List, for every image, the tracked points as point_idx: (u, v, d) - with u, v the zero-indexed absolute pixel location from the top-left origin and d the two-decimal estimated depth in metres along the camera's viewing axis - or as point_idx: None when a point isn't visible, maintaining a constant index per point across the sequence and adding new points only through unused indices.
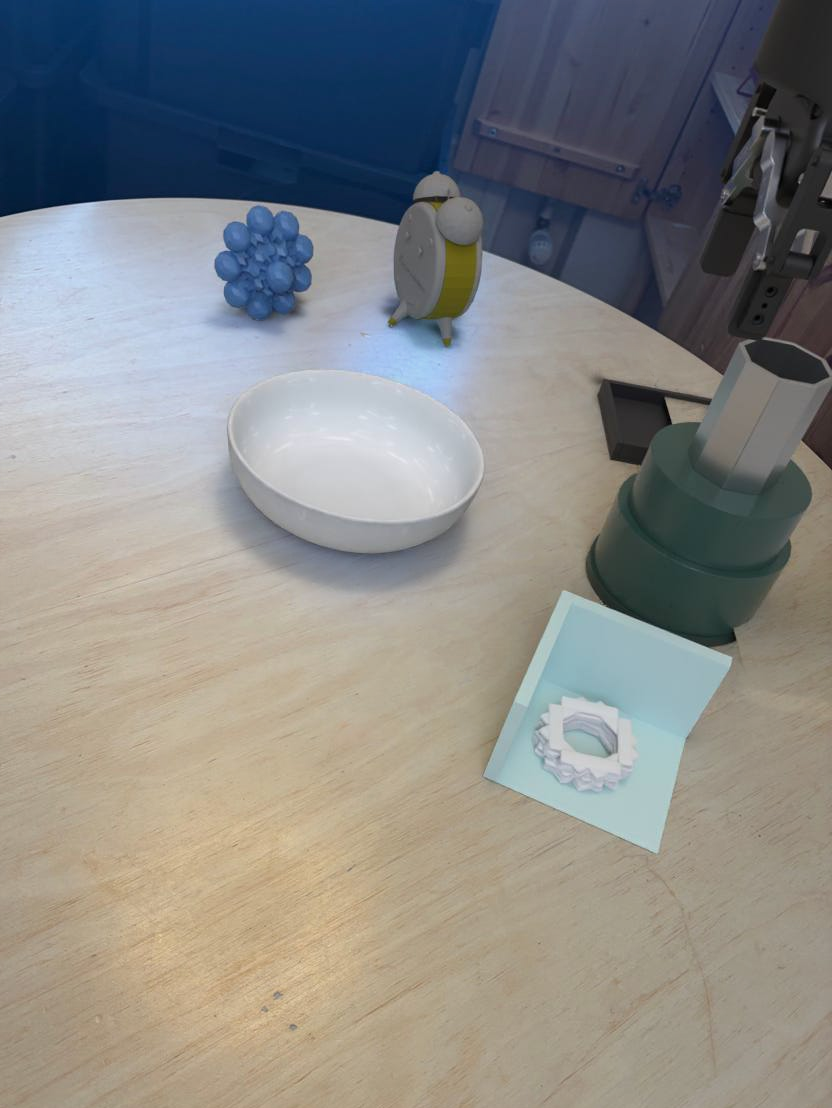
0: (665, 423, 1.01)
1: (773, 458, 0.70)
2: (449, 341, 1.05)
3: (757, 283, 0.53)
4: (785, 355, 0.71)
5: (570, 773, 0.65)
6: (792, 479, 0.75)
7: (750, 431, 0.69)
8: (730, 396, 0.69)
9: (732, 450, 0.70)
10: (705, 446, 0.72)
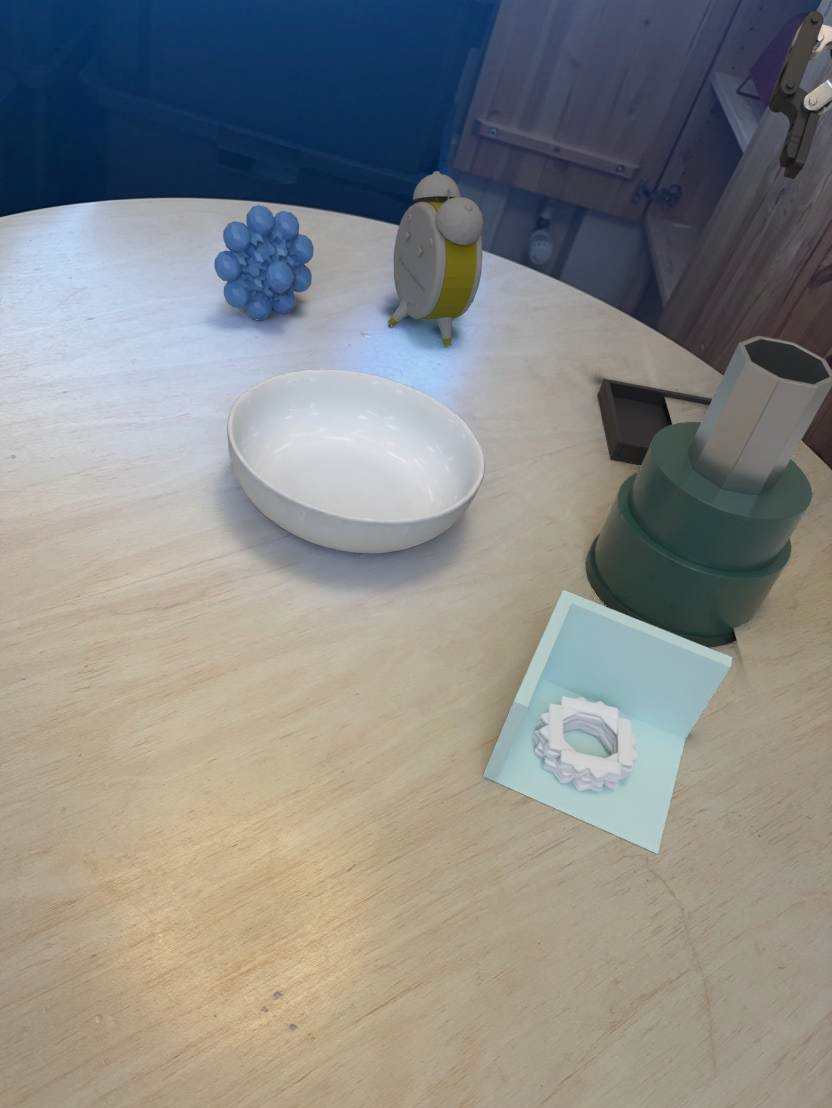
0: (665, 423, 1.01)
1: (773, 458, 0.70)
2: (449, 341, 1.05)
3: None
4: (785, 355, 0.71)
5: (570, 773, 0.65)
6: (792, 479, 0.75)
7: (750, 431, 0.69)
8: (730, 396, 0.69)
9: (732, 450, 0.70)
10: (705, 446, 0.72)
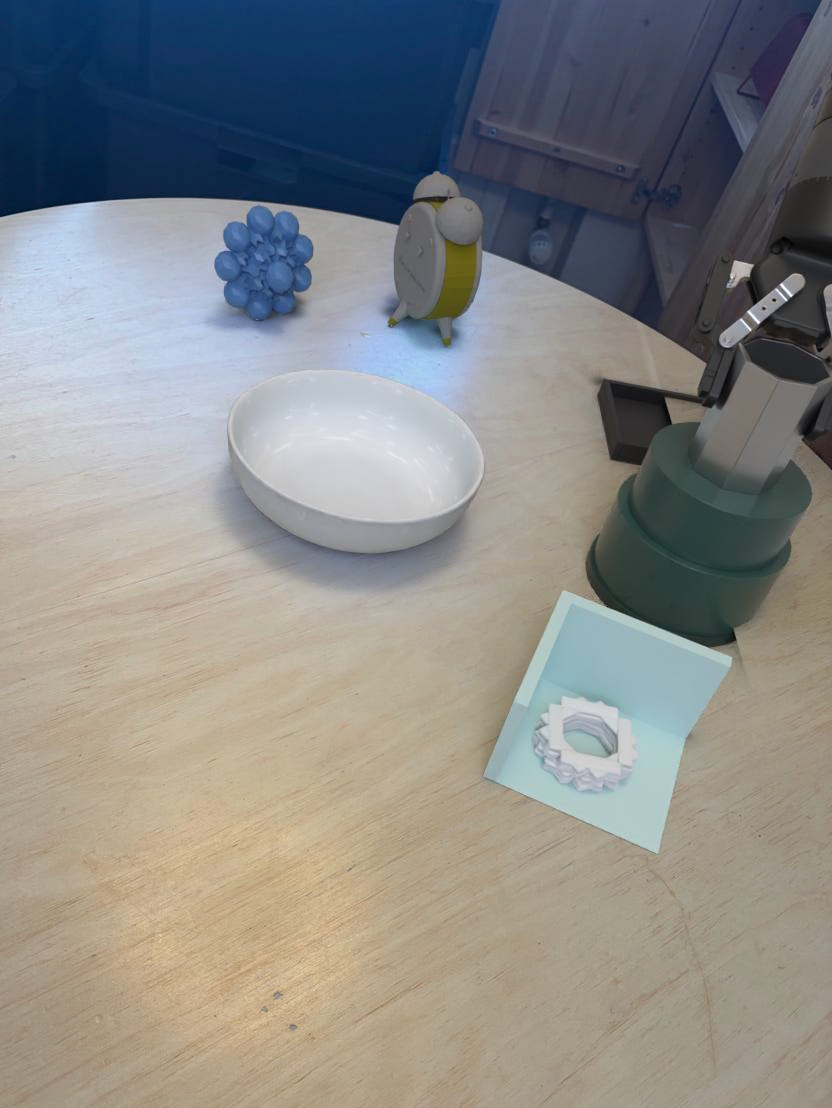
0: (665, 423, 1.01)
1: (773, 458, 0.70)
2: (449, 341, 1.05)
3: None
4: (785, 355, 0.71)
5: (570, 773, 0.65)
6: (792, 479, 0.75)
7: (750, 431, 0.69)
8: (730, 396, 0.69)
9: (732, 449, 0.70)
10: (705, 446, 0.72)
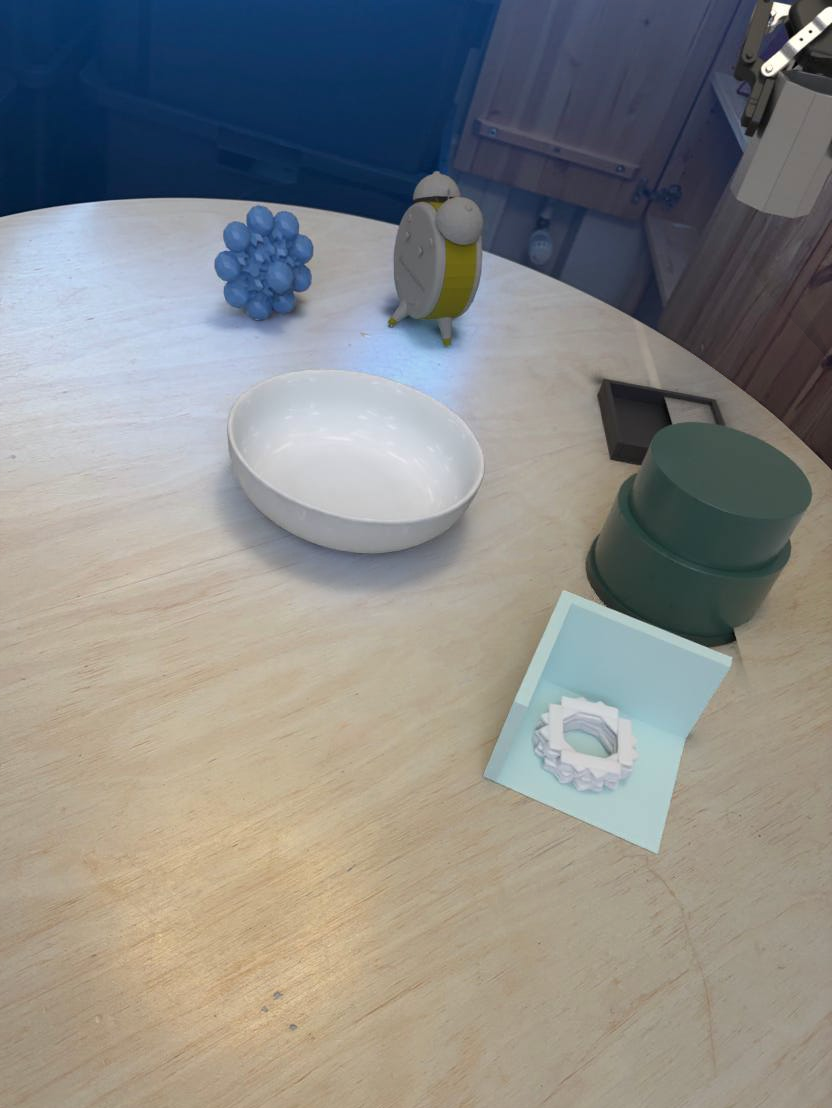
0: (665, 423, 1.01)
1: (808, 177, 0.78)
2: (449, 341, 1.05)
3: None
4: (819, 88, 0.79)
5: (570, 773, 0.65)
6: (792, 479, 0.75)
7: (788, 149, 0.77)
8: (771, 118, 0.77)
9: (772, 171, 0.79)
10: (747, 173, 0.80)
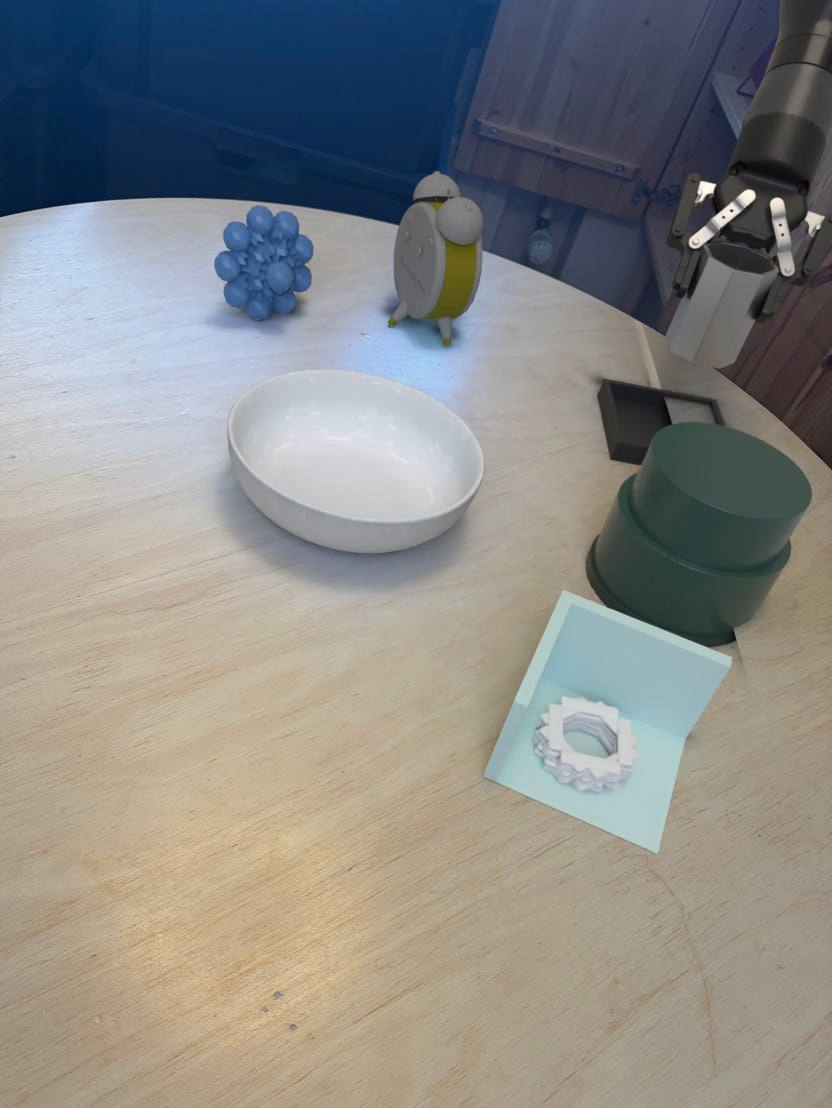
0: (665, 423, 1.01)
1: (731, 336, 0.89)
2: (449, 341, 1.05)
3: None
4: (741, 256, 0.90)
5: (570, 773, 0.65)
6: (792, 479, 0.75)
7: (712, 313, 0.88)
8: (697, 286, 0.88)
9: (699, 330, 0.89)
10: (678, 329, 0.91)
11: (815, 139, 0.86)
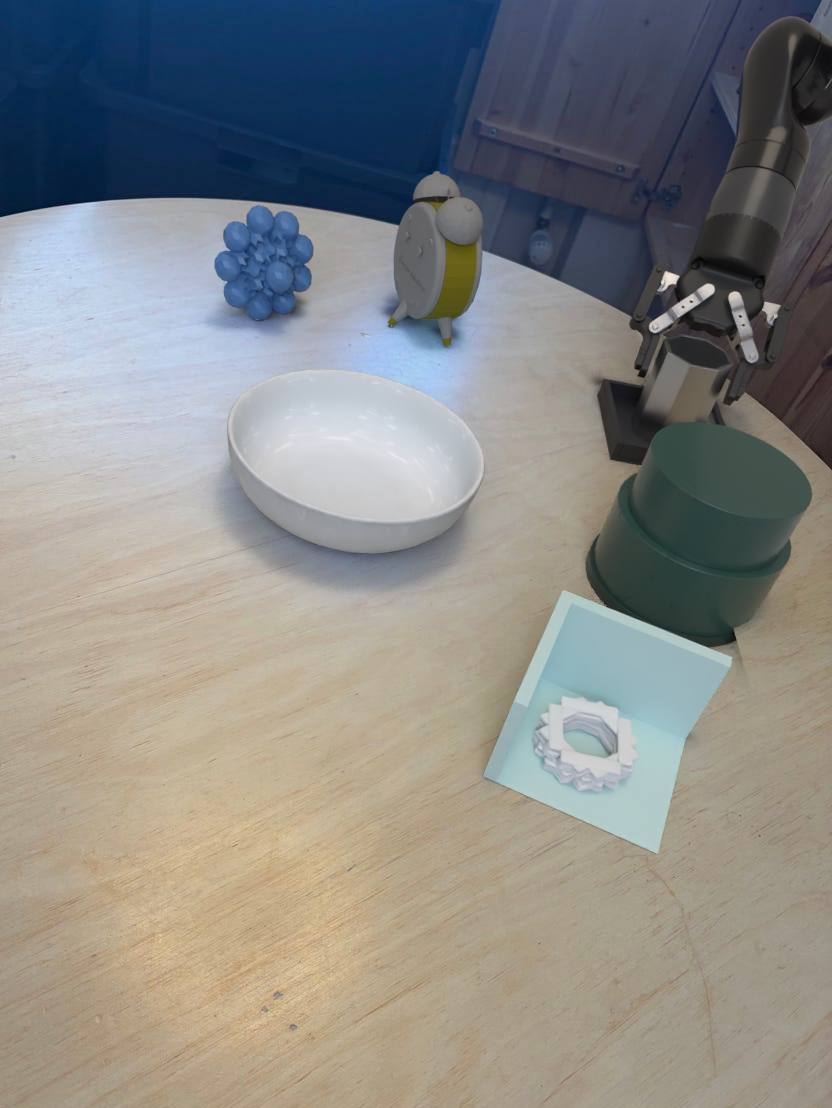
0: None
1: None
2: (449, 341, 1.05)
3: None
4: (699, 347, 0.96)
5: (570, 773, 0.65)
6: (792, 479, 0.75)
7: (672, 403, 0.94)
8: (657, 377, 0.94)
9: (660, 417, 0.96)
10: (641, 415, 0.97)
11: (770, 238, 0.92)
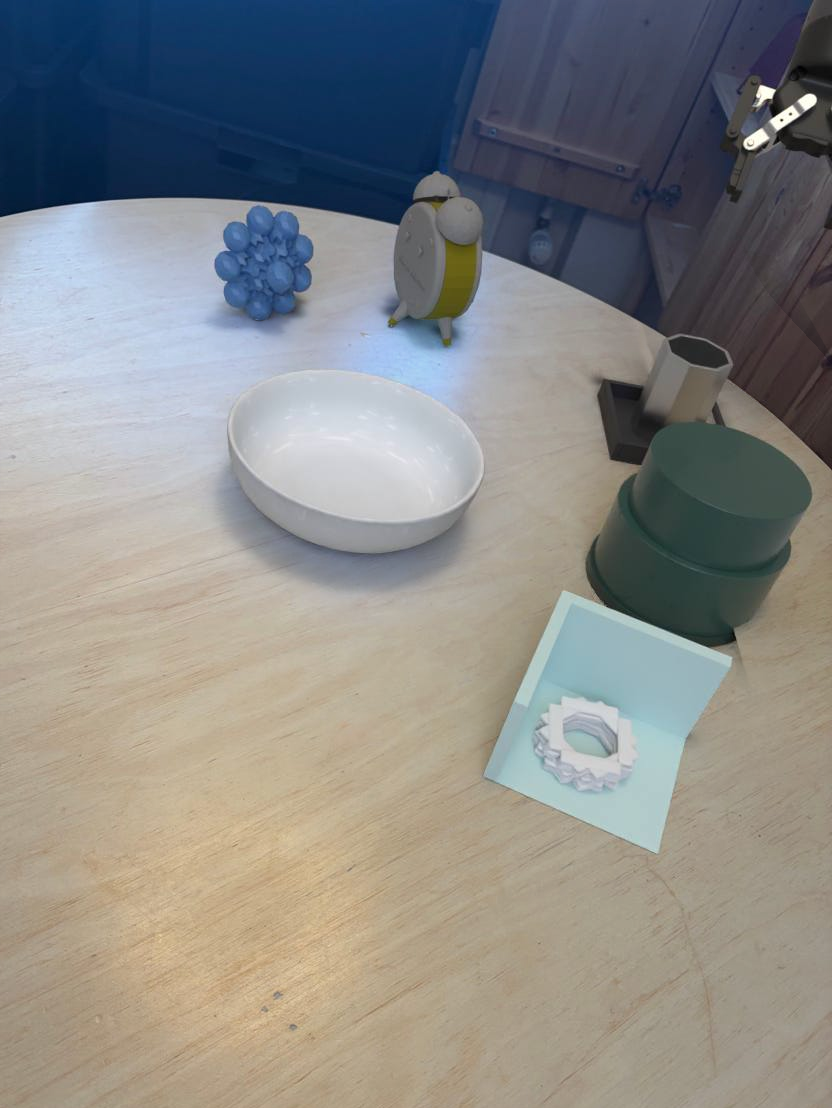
0: None
1: None
2: (449, 341, 1.05)
3: None
4: (699, 347, 0.96)
5: (570, 773, 0.65)
6: (792, 479, 0.75)
7: (672, 403, 0.94)
8: (657, 377, 0.94)
9: (660, 417, 0.96)
10: (641, 415, 0.97)
11: None
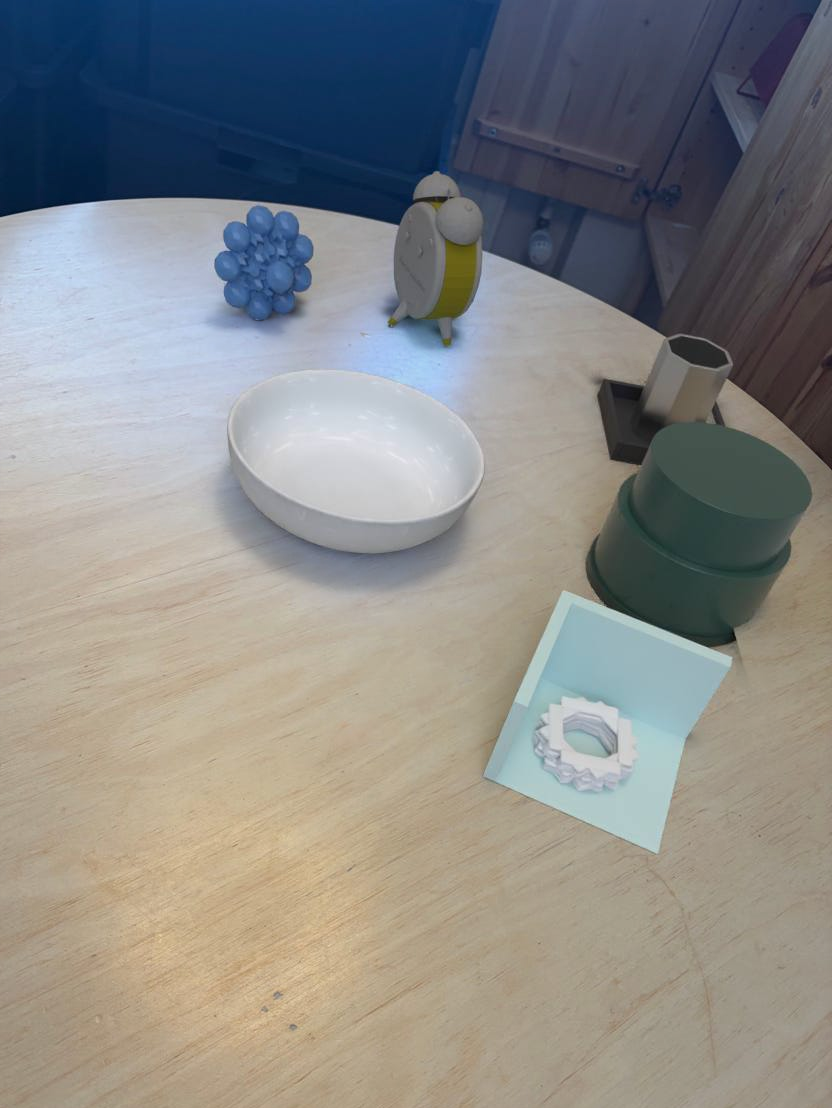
0: None
1: None
2: (449, 341, 1.05)
3: None
4: (699, 347, 0.96)
5: (570, 773, 0.65)
6: (792, 479, 0.75)
7: (672, 403, 0.94)
8: (657, 377, 0.94)
9: (660, 417, 0.96)
10: (641, 415, 0.97)
11: None
